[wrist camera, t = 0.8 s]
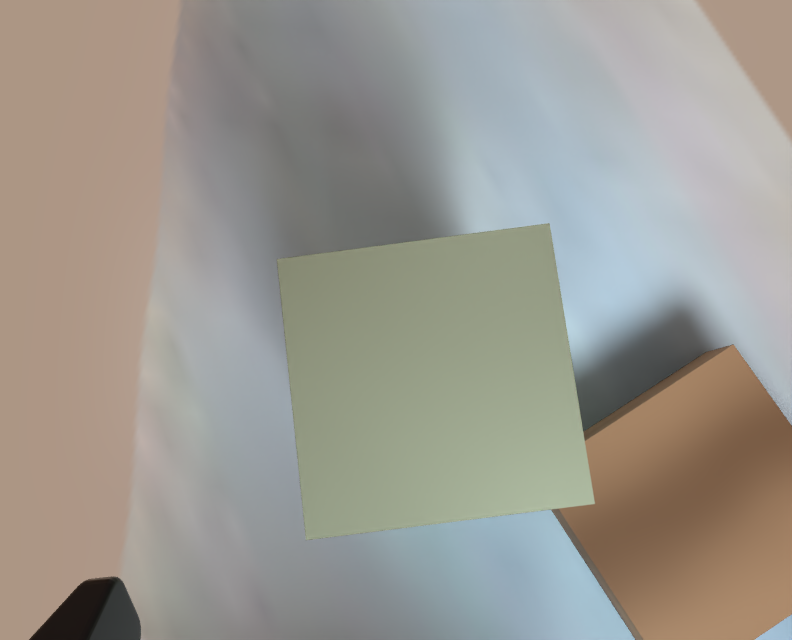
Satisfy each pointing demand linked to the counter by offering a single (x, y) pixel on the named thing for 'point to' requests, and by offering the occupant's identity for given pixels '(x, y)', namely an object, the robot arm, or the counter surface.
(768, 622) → the tan slab
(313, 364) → the sage block
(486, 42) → the counter surface
